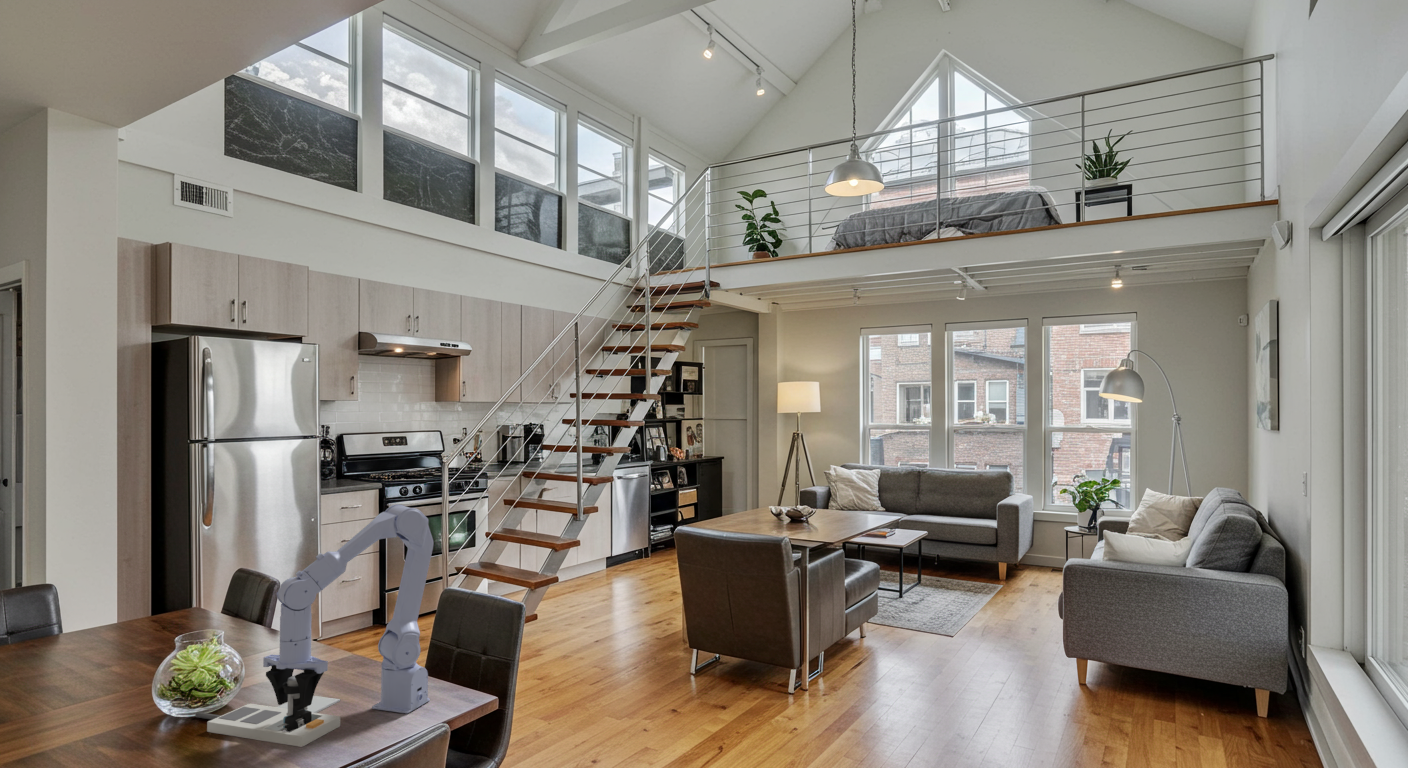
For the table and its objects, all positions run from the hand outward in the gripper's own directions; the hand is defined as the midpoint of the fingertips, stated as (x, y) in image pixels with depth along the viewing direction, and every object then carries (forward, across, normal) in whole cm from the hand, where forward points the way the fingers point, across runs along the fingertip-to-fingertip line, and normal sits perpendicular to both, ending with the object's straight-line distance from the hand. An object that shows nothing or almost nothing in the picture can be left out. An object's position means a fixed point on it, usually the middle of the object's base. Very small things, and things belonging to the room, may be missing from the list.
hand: (294, 704), depth 153 cm
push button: (+5, 0, 0) cm, 5 cm away
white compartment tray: (+5, -10, 0) cm, 11 cm away
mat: (+6, -8, +11) cm, 15 cm away
